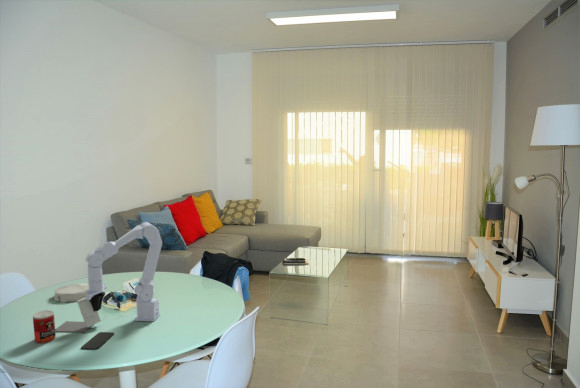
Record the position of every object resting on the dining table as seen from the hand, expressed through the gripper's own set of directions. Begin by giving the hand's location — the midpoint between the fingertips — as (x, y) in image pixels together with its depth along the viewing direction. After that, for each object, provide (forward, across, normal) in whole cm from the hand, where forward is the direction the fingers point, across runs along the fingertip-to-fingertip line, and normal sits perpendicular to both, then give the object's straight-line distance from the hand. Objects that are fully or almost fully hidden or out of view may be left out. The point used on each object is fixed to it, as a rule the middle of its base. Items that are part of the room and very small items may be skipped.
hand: (97, 310), depth 197 cm
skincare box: (+7, 0, -2) cm, 7 cm away
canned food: (+9, +12, -17) cm, 22 cm away
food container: (+9, -38, -32) cm, 51 cm away
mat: (+8, 0, -11) cm, 13 cm away
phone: (+9, +12, +6) cm, 16 cm away
